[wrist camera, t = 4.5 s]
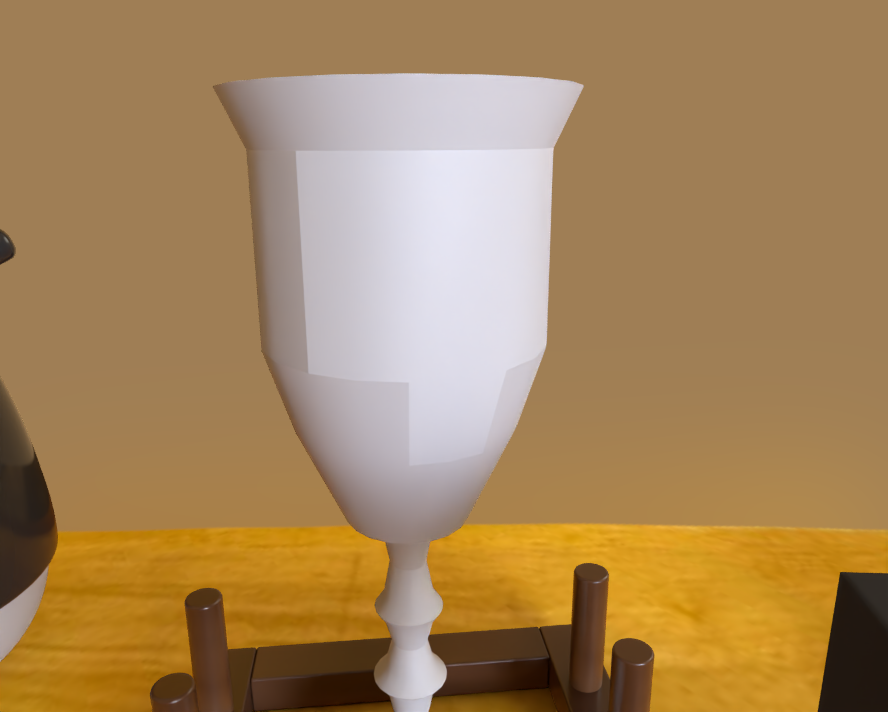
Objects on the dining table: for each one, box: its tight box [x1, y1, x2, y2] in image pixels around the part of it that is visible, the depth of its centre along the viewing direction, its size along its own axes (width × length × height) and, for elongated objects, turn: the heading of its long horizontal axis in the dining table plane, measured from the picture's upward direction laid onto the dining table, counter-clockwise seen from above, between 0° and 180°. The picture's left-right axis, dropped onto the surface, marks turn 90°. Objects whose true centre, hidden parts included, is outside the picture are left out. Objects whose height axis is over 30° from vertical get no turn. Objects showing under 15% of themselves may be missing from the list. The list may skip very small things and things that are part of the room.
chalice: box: [213, 74, 583, 712], centre depth 17 cm, size 7×7×18 cm
